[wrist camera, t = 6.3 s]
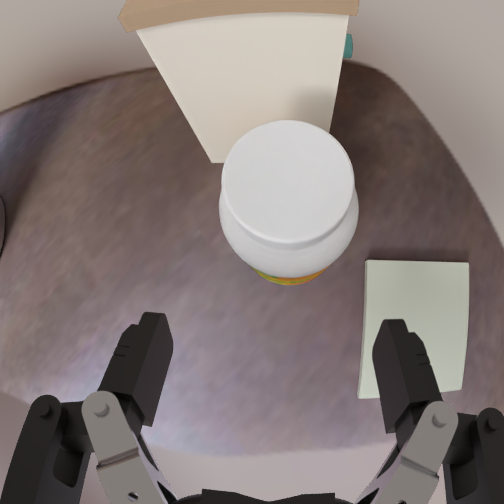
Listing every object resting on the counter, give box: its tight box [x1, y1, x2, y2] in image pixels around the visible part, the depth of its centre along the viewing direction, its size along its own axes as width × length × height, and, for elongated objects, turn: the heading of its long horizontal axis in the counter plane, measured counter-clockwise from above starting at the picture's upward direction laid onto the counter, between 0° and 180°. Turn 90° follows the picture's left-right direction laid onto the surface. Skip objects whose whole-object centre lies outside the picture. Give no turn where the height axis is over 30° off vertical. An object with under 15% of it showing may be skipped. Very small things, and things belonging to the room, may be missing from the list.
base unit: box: [118, 0, 359, 163], centre depth 13 cm, size 8×5×13 cm
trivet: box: [357, 260, 469, 399], centre depth 16 cm, size 7×8×1 cm
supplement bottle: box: [219, 120, 359, 285], centre depth 14 cm, size 5×5×10 cm
